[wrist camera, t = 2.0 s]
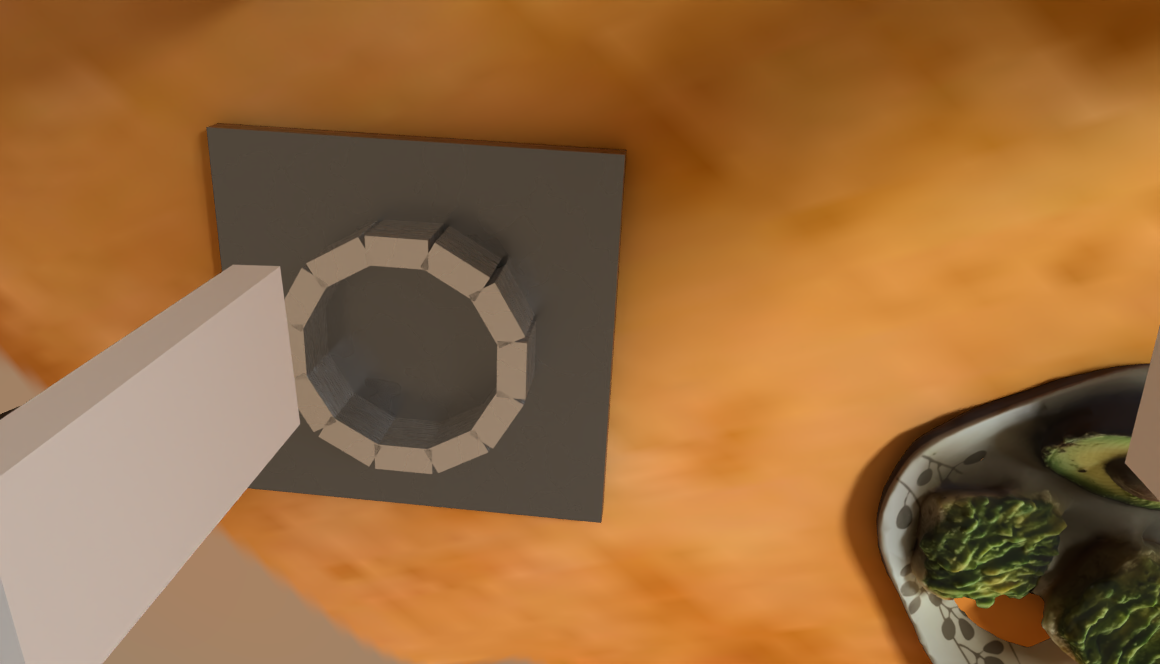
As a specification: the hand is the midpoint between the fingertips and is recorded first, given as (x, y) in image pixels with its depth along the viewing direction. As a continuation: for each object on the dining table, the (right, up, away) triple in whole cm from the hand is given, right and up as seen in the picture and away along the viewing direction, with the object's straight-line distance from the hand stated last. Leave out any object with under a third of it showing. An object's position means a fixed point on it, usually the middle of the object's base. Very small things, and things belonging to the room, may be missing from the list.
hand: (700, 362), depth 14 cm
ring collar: (-9, +1, +26) cm, 28 cm away
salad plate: (+21, -8, +27) cm, 35 cm away
